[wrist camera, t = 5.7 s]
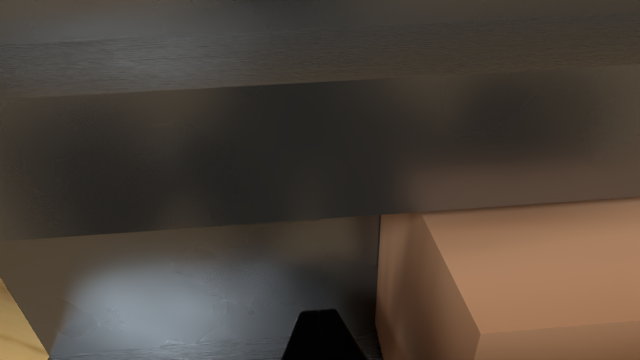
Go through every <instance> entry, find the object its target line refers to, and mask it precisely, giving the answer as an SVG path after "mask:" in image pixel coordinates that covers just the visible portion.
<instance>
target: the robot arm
mask: <svg viewBox="0 0 640 360" xmlns="http://www.w3.org/2000/svg"><path fill="white" fill-rule="evenodd" d="M281 360H368V358H367V357H366V355H365V353H364V352H363V350H362V349H361V347H360V345H359V344H358V342H357V341H356V339H355V338H354V336H353V334H352V333H351V331H350V330H349V328H348V326H347V325H346V323H345V322H344V320H343V318H342V317H341V315H340V314H339V312H338V311H337V310H336V309H335V308H329V309H320V310H307V311H301V312H300V313H299V315H298V318H297V320H296V323H295V325H294V328H293V330H292V333H291V335H290V338H289V340H288V343H287V345H286V348H285V350H284V353H283V355H282V358H281Z"/></svg>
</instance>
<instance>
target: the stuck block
mask: <svg viewBox="0 0 640 360" xmlns="http://www.w3.org/2000/svg"><path fill="white" fill-rule="evenodd" d="M375 326H376V330H377V334H378V339H379V343H380V347H381V351H382V356H383V360H640V197H628V198H613V199H599V200H585V201H571V202H556V203H542V204H528V205H514V206H500V207H485V208H471V209H457V210H443V211H428V212H414V213H400V214H386V215H381V227H380V245H379V262H378V279H377V297H376V314H375Z"/></svg>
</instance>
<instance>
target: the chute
mask: <svg viewBox="0 0 640 360" xmlns="http://www.w3.org/2000/svg"><path fill="white" fill-rule="evenodd" d="M628 197H640V0H0V277H1V279H2V280H3V282H4V283H5V285H6V287H7V288H8V290H9V292H10V293H11V295H12V296H13V298H14V300H15V301H16V303H17V304H18V306H19V308H20V309H21V311H22V312H23V314H24V316H25V317H26V319H27V320H28V322H29V324H30V325H31V327H32V329H33V330H34V332H35V333H36V335H37V337H38V338H39V340H40V341H41V343H42V345H43V346H44V348H45V349H46V351H47V353H48V354H49V356H50V357H49V358H48V360H281V358H282V355H283V353H284V350H285V348H286V345H287V343H288V340H289V338H290V335H291V333H292V330H293V328H294V325H295V323H296V320H297V318H298V315H299V313H300V312H301V311H307V310H320V309H329V308H335V309H336V310H337V311H338V312H339V314H340V315H341V317H342V318H343V320H344V322H345V323H346V325H347V326H348V328H349V330H350V331H351V333H352V334H353V336H354V338H355V339H356V341H357V342H358V344H359V345H360V347H361V349H362V350H363V352H364V353H365V355H366V357H367V358H368V360H383V356H382V351H381V347H380V343H379V339H378V334H377V330H376V326H375V314H376V297H377V279H378V262H379V245H380V227H381V215H386V214H400V213H414V212H428V211H443V210H457V209H471V208H485V207H500V206H514V205H528V204H542V203H556V202H571V201H585V200H599V199H613V198H628Z"/></svg>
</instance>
